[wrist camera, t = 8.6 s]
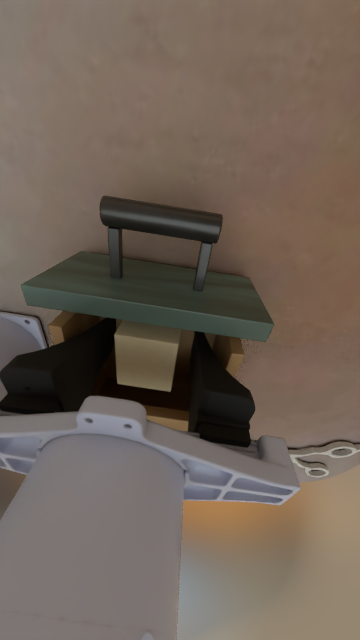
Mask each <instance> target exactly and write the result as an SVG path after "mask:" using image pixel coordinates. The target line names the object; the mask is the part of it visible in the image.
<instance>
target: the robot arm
mask: <svg viewBox="0 0 360 640" xmlns="http://www.w3.org/2000/svg"><path fill="white" fill-rule="evenodd" d="M116 331H117V330H116V319H114V318H107V317H106V318H105V319H103V320H102V321H100V322H99V323H97V324H95V325H94V326H92V327H91V328H89V329H87V330H86V331H84V332H82V333H80V334H79V335H77V336H75V337H73V338H71V339H69V340H66V341H64V342H61V343H59V344H56V345H54V346H51V347H47V344H46V341H45V337H44V334H43V331H42V327H41V324H40V321H39V320H38V319H37V318H36V317H32V316H25V315H19V314H12V313H6V312H0V468H4V469H8V470H11V471H15V472H19V473H22V474H26V475H27V476H26V478H25V480H24V481H23V483H22V485H21V486H20V488H19V490H18V492H17V493H16V495H15V497H14V499H13V500H12V502H11V503H10V505H9V507H8V508H7V510H6V512H5V513H4V515H3V517H2V518H1V520H0V640H176V638H177V620H178V600H179V599H178V598H179V579H180V558H181V539H182V519H183V500H194V501H197V500H198V501H237V502H255V503H265V504H274V505H281V504H283V503H284V502H285V501H286V500H288V499H289V498H290V497H291V496H293V495H294V494H295V493H296V492H298V491H299V490H300V489H301V487H300V485H299V481H298V478H297V475H296V472H295V469H294V466H293V463H292V460H291V457H290V455H289V452H288V449H287V446H286V443H285V440H284V439H283V438H280V437H273V436H261V437H260V438H259V439H258V441H257V442H254V441H251V439H250V434H249V429H250V424H249V421H250V419H251V417H252V416H253V414H254V412H255V404H254V400H253V398H252V395H251V393H250V390H248V389H247V388H246V387H244V386H243V385H242V384H241V383H239V382H238V381H237V380H236V379H235V378H234V377H233V376H232V375H231V374H230V373H229V372H228V371H227V370H226V369H225V368H224V366H223V365H222V364H221V363H220V361H219V360H218V358H217V357H216V355H215V354H214V352H213V350H212V348H211V346H210V344H209V342H208V340H207V338H206V336H205V333H204V332H198V331H195V334H194V339H193V343H192V348H191V357H190V371H191V397H190V410H189V422H188V431H181V430H175V429H173V428H170V427H167V426H164V425H161V424H159V423H156V422H153V421H150V420H148V419H146V410H145V407H144V406H142V405H141V404H140V403H138V402H135V401H131V400H124V399H117V398H111V397H104V396H90V393H91V391H92V388H93V386H94V383H95V381H96V379H97V376H98V374H99V372H100V371H101V369H102V367H103V365H104V364H105V362H106V360H107V358H108V357H109V355H110V353H111V351H112V349H113V347H114V345H115V338H114V334H115V333H116Z"/></svg>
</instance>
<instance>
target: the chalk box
mask: <svg viewBox="0 0 360 640" xmlns="http://www.w3.org/2000/svg"><path fill="white" fill-rule="evenodd" d="M180 333H181V329H178V328H172V327H165V326H159V325H153V324H146V323H140V322H133V321H127V320H122V322H121V324H120V326H119V327H118V329H117V331H116V333H115V334H114V338H115V355H116V372H117V384H122V385H129V386H135V387H142V388H148V389H155V390H161V391H168V392H171V389H172V383H173V377H174V371H175V365H176V360H177V354H178V348H179V341H180Z"/></svg>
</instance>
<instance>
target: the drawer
mask: <svg viewBox="0 0 360 640" xmlns="http://www.w3.org/2000/svg"><path fill="white" fill-rule="evenodd" d="M100 217H101V221H102V223H103V225H105V226H108V242H109V256H108V255H102V254H95V253H89V252H83V251H81V252H79V253H77V254H75V255H73V256H72V257H70V258H68V259H66V260H64V261H63V262H61V263H59V264H57V265H55V266H54V267H52V268H50V269H48V270H46V271H45V272H43V273H41V274H39V275H37V276H36V277H34V278H32V279H30V280H28V281H27V282H25V283H23V284H21V288H22V291H23V294H24V297H25V300H26V303H27V305H30V306H37V307H43V308H49V309H56V310H62V311H63V312H62V313H61V314H60V315H59V316H58V317H57V318H55V319H54V320H53V321H52V322H51V323H50V324H49V325H48V327H49V330H50V334H51V337H52V341H53V345H56V344H59V343H61V342H64V341H66V340H69V339H71V338H73V337H75V336H77V335H79V334H80V333H82V332H84V331H86V330H87V329H89V328H91V327H92V326H94V325H95V324H97V323H99V322H100V321H102V320H103V319H105V318H106V317H107V318H114V319H116V330H117V329H118V327H119V326H120V324H121V322H122V320H127V321H133V322H140V323H146V324H153V325H159V326H165V327H172V328H178V329H181V333H180V341H179V348H178V354H177V360H176V365H175V371H174V377H173V383H172V389H171V392H168V391H161V390H155V389H148V388H142V387H135V386H129V385H122V384H117V372H116V355H115V345H114V347H113V349H112V351H111V353H110V355H109V357H108V358H107V360H106V362H105V364H104V365H103V367H102V369H101V371H100V372H99V374H98V376H97V379H96V381H95V383H94V386H93V388H92V391H91V393H90V396H104V397H111V398H117V399H124V400H131V401H135V402H138V403H140V404H143V405H149V406H156V407H162V408H169V409H175V410H182V411H189V410H190V397H191V371H190V357H191V348H192V343H193V339H194V334H195V331H198V332H204V333H205V336H206V338H207V340H208V342H209V344H210V346H211V348H212V350H213V352H214V354H215V355H216V357H217V358H218V360H219V361H220V363H221V364H222V365H223V366H224V368H225V369H226V370H227V371H228V372H229V373H230V374H231V375H232V376H233V377H234V378H235V377H236V375H237V372H238V370H239V368H240V365H241V363H242V361H243V358H244V356H245V355H244V351H243V348H242V344H241V340H240V338H243V339H249V340H256V341H262V342H266V341H267V339H268V337H269V335H270V333H271V331H272V329H273V326H274V323H273V321H272V319H271V317H270V315H269V314H268V312H267V310H266V308H265V306H264V304H263V302H262V301H261V299H260V297H259V295H258V293H257V291H256V290H255V288H254V286H253V284H252V282H251V280H250V278H248V277H241V276H235V275H229V274H222V273H216V272H210V271H207V269H208V264H209V260H210V255H211V250H212V246H213V245H212V243H217V241H218V239H219V236H220V232H221V227H222V220H223V217H222V215H221V214H217V213H210V212H204V211H198V210H192V209H185V208H179V207H173V206H167V205H160V204H154V203H148V202H142V201H135V200H129V199H123V198H117V197H110V196H103V197H102V199H101V202H100ZM122 229H127V230H133V231H139V232H146V233H152V234H158V235H165V236H171V237H177V238H184V239H190V240H196V241H201V246H200V252H199V257H198V263H197V268H196V269H191V268H184V267H178V266H172V265H165V264H159V263H153V262H146V261H140V260H133V259H127V258H123V254H122Z"/></svg>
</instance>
